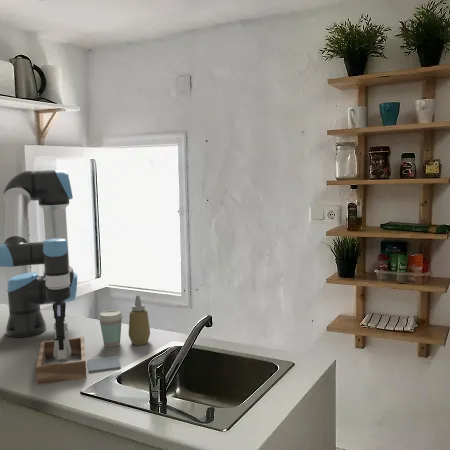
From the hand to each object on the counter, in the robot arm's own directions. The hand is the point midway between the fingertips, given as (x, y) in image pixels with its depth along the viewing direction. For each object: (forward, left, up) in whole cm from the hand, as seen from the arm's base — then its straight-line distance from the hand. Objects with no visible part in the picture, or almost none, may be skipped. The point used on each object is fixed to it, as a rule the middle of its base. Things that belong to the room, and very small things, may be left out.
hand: (62, 354), depth 165 cm
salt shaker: (0, 0, -2) cm, 2 cm away
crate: (0, 0, -4) cm, 4 cm away
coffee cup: (-16, +17, -4) cm, 23 cm away
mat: (+3, +13, -4) cm, 14 cm away
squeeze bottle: (-14, +27, -4) cm, 31 cm away
